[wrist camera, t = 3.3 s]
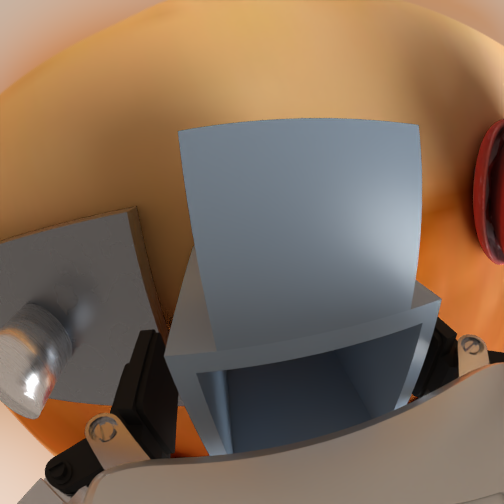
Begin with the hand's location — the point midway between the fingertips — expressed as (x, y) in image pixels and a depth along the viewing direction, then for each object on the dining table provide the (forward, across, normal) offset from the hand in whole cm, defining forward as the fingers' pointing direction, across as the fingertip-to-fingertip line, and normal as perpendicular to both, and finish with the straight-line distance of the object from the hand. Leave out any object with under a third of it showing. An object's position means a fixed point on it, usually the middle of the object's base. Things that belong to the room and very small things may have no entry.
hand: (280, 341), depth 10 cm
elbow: (+4, -1, -2) cm, 5 cm away
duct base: (+4, +14, +1) cm, 14 cm away
